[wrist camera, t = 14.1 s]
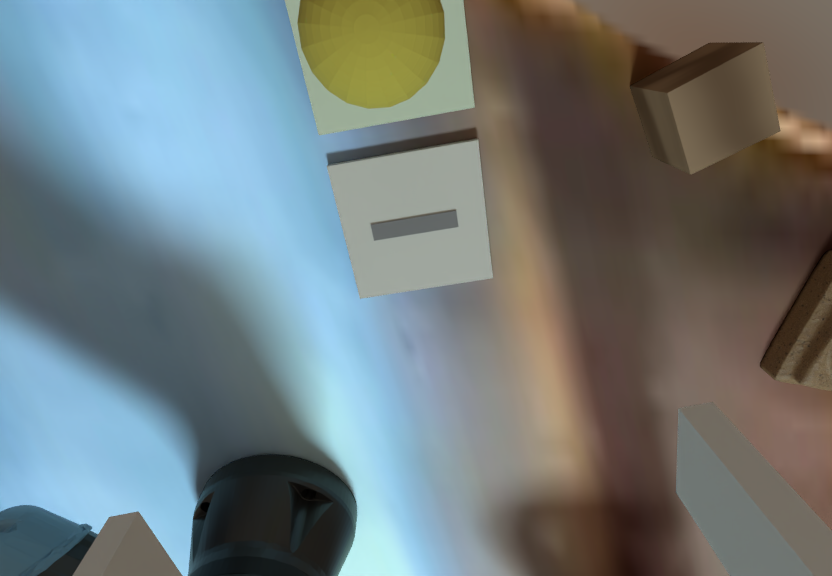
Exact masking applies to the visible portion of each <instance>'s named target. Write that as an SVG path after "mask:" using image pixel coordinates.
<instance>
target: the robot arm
mask: <svg viewBox="0 0 832 576" xmlns="http://www.w3.org/2000/svg"><path fill="white" fill-rule="evenodd" d="M676 493H677V494H678V496H679V497H680V499H681V501H682V502H683V504H684V505H685V507H686V508H687V510H688V511H689V513H690V514H691V516H692V518H693V519H694V521H695V522H696V524H697V525H698V527H699V528H700V530H701V531H702V533H703V535H704V536H705V538H706V539H707V541H708V542H709V544H710V545H711V547H712V548H713V550H714V552H715V553H716V555H717V556H718V558H719V559H720V561H721V562H722V564H723V565H724V567H725V569H726V570H727V572H728V573H729V575H730V576H832V531H831V530H830V529H829V527H828V526H827V525H826V524H825V523H824V522H823V521H822V520H821V519H820V518H819V517H818V516H817V514H816V513H815V512H814V511H813V510H812V509H811V508H810V507H809V506H808V505H807V504H806V503H805V501H804V500H803V499H802V498H801V497H800V496H799V495H798V494H797V493H796V492H795V491H794V490H793V489H792V487H791V486H790V485H789V484H788V483H787V482H786V481H785V480H784V479H783V478H782V477H781V476H780V474H779V473H778V472H777V471H776V470H775V469H774V468H773V467H772V466H771V465H770V464H769V463H768V461H767V460H766V459H765V458H764V457H763V456H762V455H761V454H760V453H759V452H758V451H757V450H756V448H755V447H754V446H753V445H752V444H751V443H750V442H749V441H748V440H747V439H746V438H745V437H744V436H743V434H742V433H741V432H740V431H739V430H738V429H737V428H736V427H735V426H734V425H733V424H732V423H731V421H730V420H729V419H728V418H727V417H726V416H725V415H724V414H723V413H722V412H721V411H720V410H719V408H718V407H717V406H716V405H715V404H714V403H713V402H710V403H705V404H700V405H694V406H689V407H684V408H679V413H678V446H677V479H676ZM356 521H357V507H356V503H355V500H354V497H353V495H352V493H351V492H350V490H349V489H348V488H347V486H346V485H345V484H344V483H343V482H342V481H341V480H340V479H339V478H338V477H337V476H335V475H334V474H333V473H331V472H330V471H328V470H326V469H325V468H323V467H321V466H319V465H317V464H314V463H312V462H309V461H306V460H303V459H299V458H295V457H289V456H282V455H260V456H252V457H247V458H243V459H240V460H237V461H234V462H232V463H230V464H228V465H226V466H224V467H222V468H221V469H220V470H218V471H217V472H216V473H215V474H214V475H213V476H212V477H211V478H210V479H209V480H208V482H207V483H206V485H205V487H204V489H203V492H202V494H201V496H200V498H199V500H198V502H197V505H196V508H195V511H194V516H193V526H192V537H191V549H190V560H189V572H188V576H338V574H339V572H340V570H341V568H342V566H343V564H344V562H345V560H346V558H347V555H348V553H349V551H350V549H351V547H352V544H353V541H354V537H355V530H356ZM91 529H92V526H90V525H88V524H81V525H79V524H77V523H74V522H72V521H70V520H67V519H65V518H63V517H61V516H58V515H56V514H54V513H52V512H49V511H47V510H45V509H43V508H40V507H37V506H32V505H20V506H15V507H11V508H8V509H6V510H3V511H1V512H0V576H182V575H181V573H180V572H179V570H178V569H177V567H176V566H175V564H174V563H173V561H172V560H171V558H170V557H169V555H168V554H167V553H166V551H165V550H164V548H163V547H162V545H161V544H160V542H159V541H158V539H157V538H156V536H155V535H154V533H153V532H152V530H151V529H150V528H149V526H148V525H147V523H146V522H145V520H144V519H143V517H142V516H141V514H140V513H139V511H138V512H133V513H128V514H123V515H117V516H112V517H109V518H108V520H107V521H106V523H105V525H104V526H103V528H102V529H101V531H100V533H99V534H96V533H94V532H92V531H90V530H91Z"/></svg>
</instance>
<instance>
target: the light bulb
mask: <svg viewBox="0 0 832 576" xmlns="http://www.w3.org/2000/svg"><path fill="white" fill-rule="evenodd" d="M297 24H298V30H299V37H300V43H301V49H302V51H303V54H304V56H305V58H306V60H307V62H308V65H309V67H310V69H311V71H312V73H313V74H314V75H315V76H316V77H317V79H318V80H319V81H320V82H321V83H322V85H323V86H324V87H325V88H326V89H327V90H328V91H329V92H331V93H332V94H334V95H335V96H337V97H338V98H340V99H341V100H343V101H345V102H346V103H348V104H352V105H356V106H360V107H363V108H367V109H373V108H387V107H392V106H394V105H396V104H399V103H401V102H403V101H406V100H408V99H410V98H411V97H412V96H413V95H415V94H416V93H417V92H418V91H419V90H420V89H421V88H422V87H424V86H425V85H426V84H427V83H428V81H429V79H430V77H431V76H432V74H433V72H434V71H435V69H436V67H437V66H438V64H439V61H440V57H441V53H442V49H443V45H444V41H445V20H444V10H443V7H442V4H441V1H440V0H300V6H299V14H298V22H297Z"/></svg>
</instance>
